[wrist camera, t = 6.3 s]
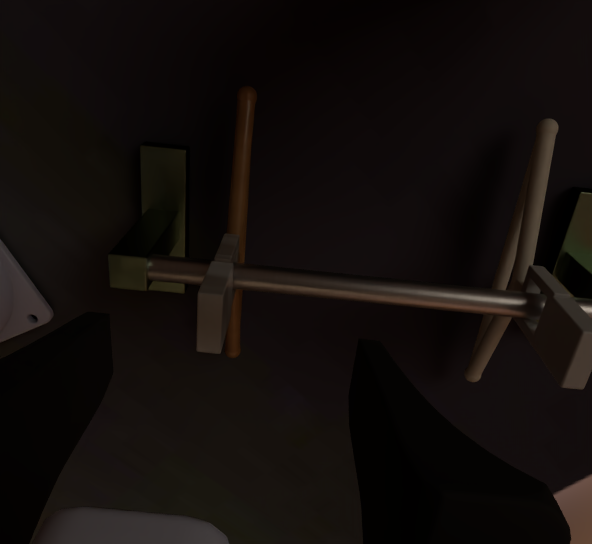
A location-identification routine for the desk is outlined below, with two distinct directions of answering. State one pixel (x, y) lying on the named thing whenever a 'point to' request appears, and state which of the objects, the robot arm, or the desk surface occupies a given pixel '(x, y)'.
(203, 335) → the beech hanger
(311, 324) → the desk surface
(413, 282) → the rail
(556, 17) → the desk surface
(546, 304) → the white hanger
